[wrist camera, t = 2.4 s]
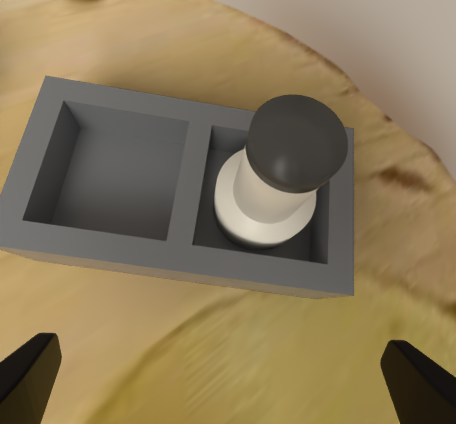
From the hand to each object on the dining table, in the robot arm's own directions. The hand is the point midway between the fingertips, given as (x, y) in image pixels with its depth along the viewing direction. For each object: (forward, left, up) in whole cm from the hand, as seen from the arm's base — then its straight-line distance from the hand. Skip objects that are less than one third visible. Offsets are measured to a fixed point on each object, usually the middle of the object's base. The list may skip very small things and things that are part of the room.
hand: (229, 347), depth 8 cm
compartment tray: (+7, -4, -13) cm, 16 cm away
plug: (+4, -7, -11) cm, 13 cm away
